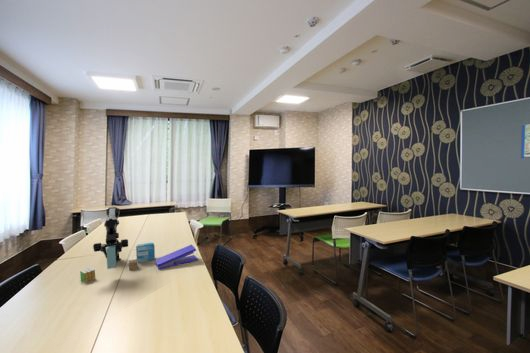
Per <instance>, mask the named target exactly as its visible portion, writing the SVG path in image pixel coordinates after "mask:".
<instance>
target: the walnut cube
mask: <svg viewBox="0 0 530 353" xmlns="http://www.w3.org/2000/svg"><path fill="white" fill-rule="evenodd" d="M128 268H129V271H132V270H137V269H138V268H139V267H138V262H137V258H136V259H130V260H128Z"/></svg>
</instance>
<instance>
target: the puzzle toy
mask: <svg viewBox="0 0 530 353" xmlns="http://www.w3.org/2000/svg"><path fill="white" fill-rule="evenodd" d="M79 272H80V274H79V275H80V281H82V282H83V283H87V282H91V281H92V280H95V279H96V270H95V269H94V268H92V267H89V268H85V269H83V270H80V271H79Z"/></svg>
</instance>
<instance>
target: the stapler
mask: <svg viewBox="0 0 530 353" xmlns="http://www.w3.org/2000/svg"><path fill="white" fill-rule="evenodd" d="M195 252H197V249H196V248H195V246H194V245H192V244H190V245H187V246H185V247H183V248H180V249H177V250H175V251H173V252H170V253H167V254H165V255H162V256H160V257H158V258H156V259H155V258H154V260H155V265H156V268H157V269H158V270H163V269H167V268H171V267H175V266H180V264H181V265H185V264H189V263H192V262H196V261H197V260H198V261H199V258H198V257H197V256H196V255H195V254H194V253H195ZM198 261H197V262H198ZM184 263H185V264H184Z"/></svg>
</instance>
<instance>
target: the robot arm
mask: <svg viewBox="0 0 530 353" xmlns="http://www.w3.org/2000/svg"><path fill="white" fill-rule="evenodd" d="M106 216H107V217H106V218H105V221H104V223H103V224H104V227H105V231H106V235H105V243H101V242H97V243H94V244H92V249H93V252H95V253H96V252H102V253H103V254H104V256H105V259H106V260H107V249H106V248H107V246H112V245H115V248H116V262H118V261H121V260H122V258H120V253H121V252H122V250H123V248H126V247H127V248H128V247H129V239H126V238H125V239H121V240H120V241H119V238H120V234H119V232H118V231H117V230H118V229H117V227H118V226H119V224H120V221H119V216H120V208H119V207H116V206H110V207H108V208H107V209H106Z"/></svg>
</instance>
